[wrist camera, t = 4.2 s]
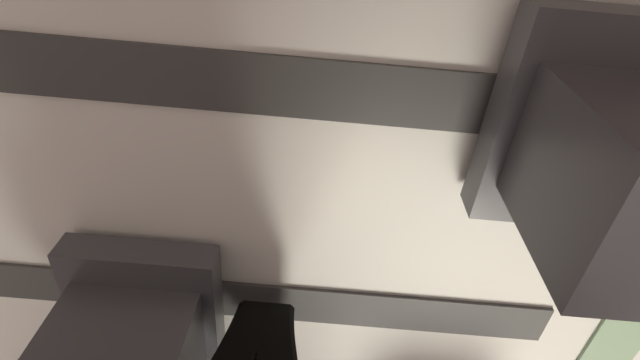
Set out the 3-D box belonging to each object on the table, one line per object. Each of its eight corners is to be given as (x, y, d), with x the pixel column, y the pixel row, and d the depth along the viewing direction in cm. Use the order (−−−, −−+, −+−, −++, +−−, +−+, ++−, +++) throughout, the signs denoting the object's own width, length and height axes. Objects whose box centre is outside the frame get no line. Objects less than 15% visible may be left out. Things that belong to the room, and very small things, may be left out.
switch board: (537, 445, 18) (553, 489, 17) (-112, 393, 18) (-148, 434, 17) (878, -50, 8) (981, -36, 7) (-574, -184, 8) (-758, -198, 7)
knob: (628, 209, 10) (769, 371, 6) (460, 194, 10) (518, 351, 6) (740, 14, 7) (1037, 117, 4) (521, -6, 7) (657, 83, 4)
